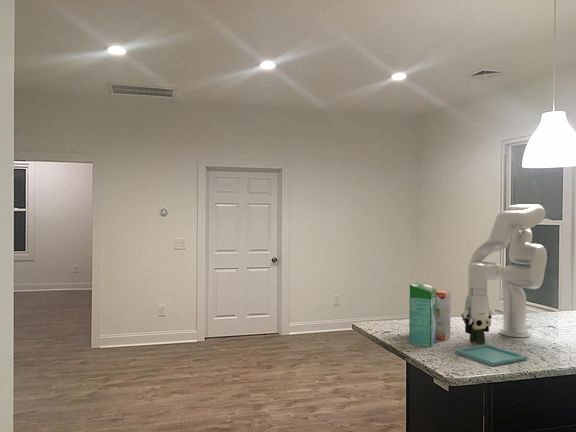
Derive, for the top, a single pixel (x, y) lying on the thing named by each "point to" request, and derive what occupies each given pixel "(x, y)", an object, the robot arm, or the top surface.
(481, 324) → the character mug
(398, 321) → the top surface
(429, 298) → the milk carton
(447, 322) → the cracker box
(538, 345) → the top surface
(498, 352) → the tray
